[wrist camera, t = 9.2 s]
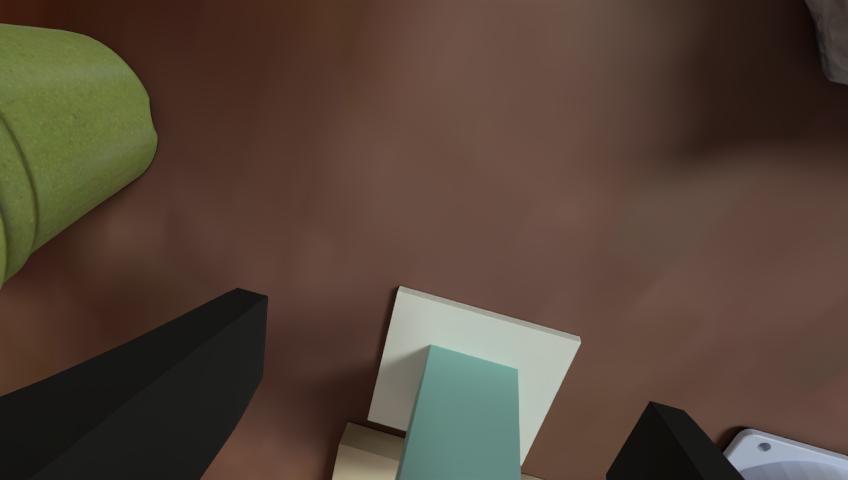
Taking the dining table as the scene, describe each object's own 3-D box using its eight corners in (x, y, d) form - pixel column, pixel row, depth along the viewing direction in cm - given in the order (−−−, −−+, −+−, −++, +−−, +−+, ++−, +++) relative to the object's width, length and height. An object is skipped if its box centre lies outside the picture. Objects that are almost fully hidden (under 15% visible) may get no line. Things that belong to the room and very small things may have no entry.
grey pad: (579, 336, 20) (581, 342, 20) (521, 458, 24) (521, 465, 24) (399, 285, 21) (398, 290, 20) (369, 413, 24) (367, 419, 24)
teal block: (518, 369, 21) (521, 519, 15) (492, 430, 23) (486, 587, 17) (431, 344, 21) (398, 482, 15) (412, 407, 23) (376, 553, 17)
